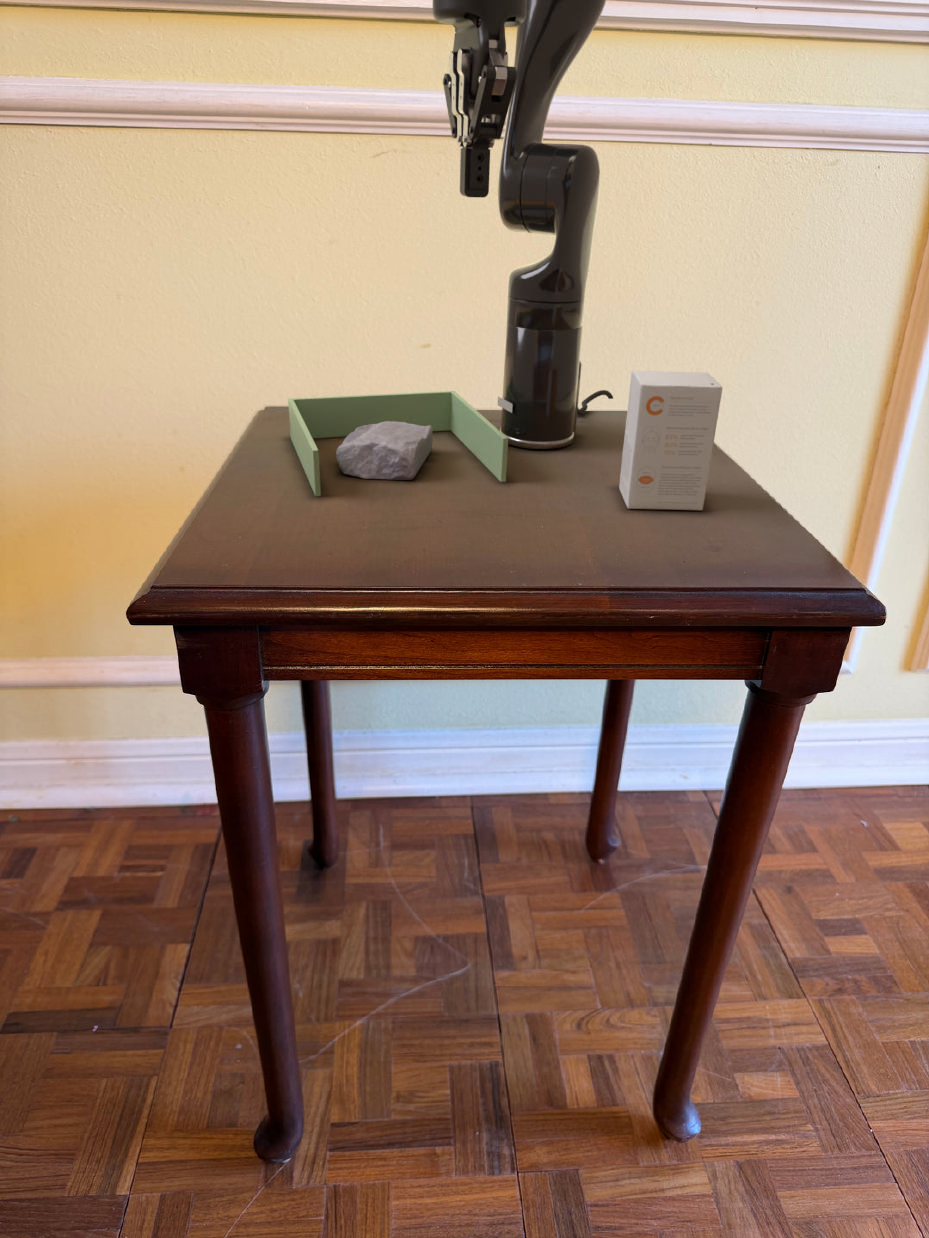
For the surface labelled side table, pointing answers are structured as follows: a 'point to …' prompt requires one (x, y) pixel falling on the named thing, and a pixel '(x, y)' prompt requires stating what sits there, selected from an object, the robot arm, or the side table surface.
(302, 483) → the side table surface
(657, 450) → the small box
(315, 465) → the green u-shaped fence
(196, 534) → the side table surface
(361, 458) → the stone block
